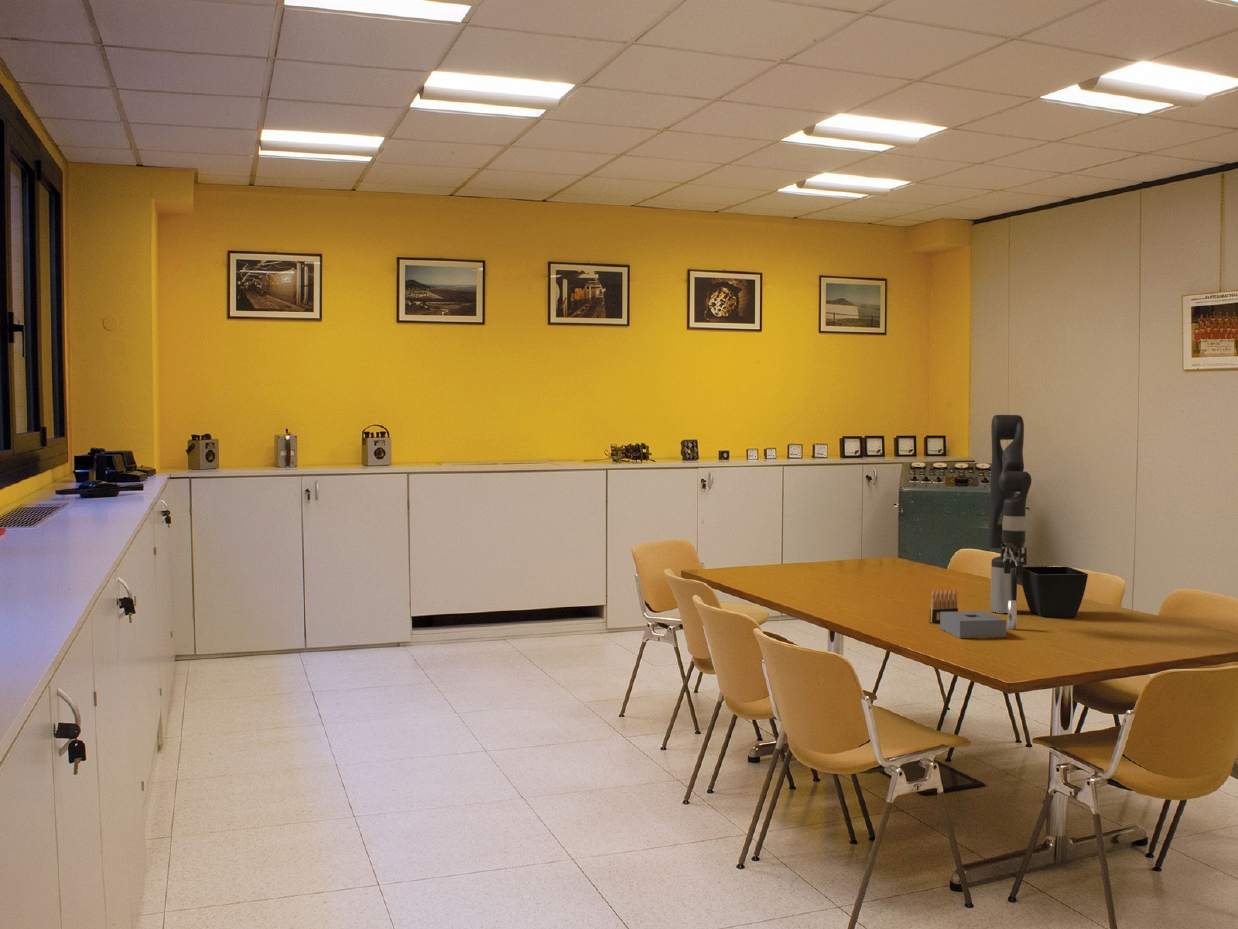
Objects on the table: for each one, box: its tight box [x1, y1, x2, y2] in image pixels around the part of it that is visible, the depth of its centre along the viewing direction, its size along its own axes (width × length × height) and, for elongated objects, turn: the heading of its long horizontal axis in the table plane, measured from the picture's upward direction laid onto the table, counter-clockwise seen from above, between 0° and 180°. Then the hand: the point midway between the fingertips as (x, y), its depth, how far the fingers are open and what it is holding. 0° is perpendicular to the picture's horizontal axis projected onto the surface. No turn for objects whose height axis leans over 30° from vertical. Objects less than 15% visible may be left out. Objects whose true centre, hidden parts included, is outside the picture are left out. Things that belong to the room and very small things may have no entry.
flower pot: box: [1020, 566, 1089, 618], centre depth 385 cm, size 19×19×17 cm
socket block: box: [939, 610, 1007, 639], centre depth 350 cm, size 16×16×6 cm
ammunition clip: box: [928, 588, 959, 624], centre depth 368 cm, size 11×2×12 cm, turn 105°
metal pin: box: [1006, 600, 1018, 631], centre depth 357 cm, size 3×3×10 cm
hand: (1012, 575), depth 357 cm, fingers open, 8 cm apart
